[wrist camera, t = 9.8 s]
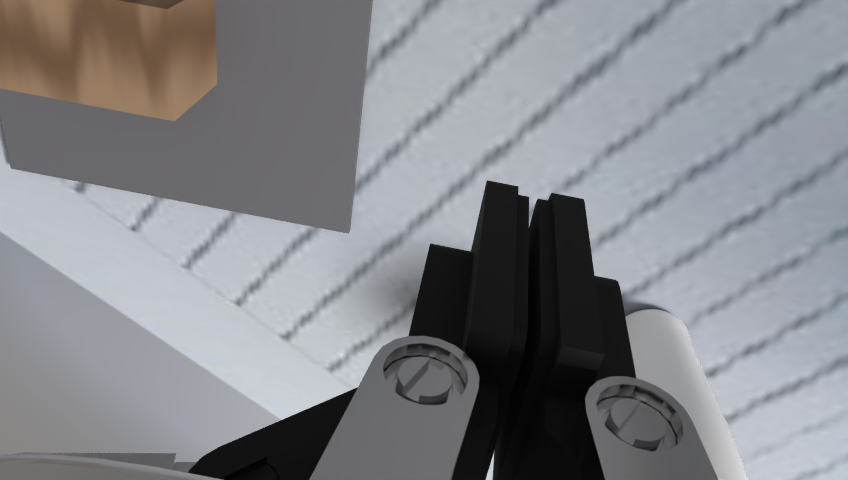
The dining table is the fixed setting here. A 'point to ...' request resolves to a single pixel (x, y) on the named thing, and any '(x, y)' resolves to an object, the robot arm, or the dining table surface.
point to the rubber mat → (228, 121)
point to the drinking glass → (683, 383)
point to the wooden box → (111, 52)
